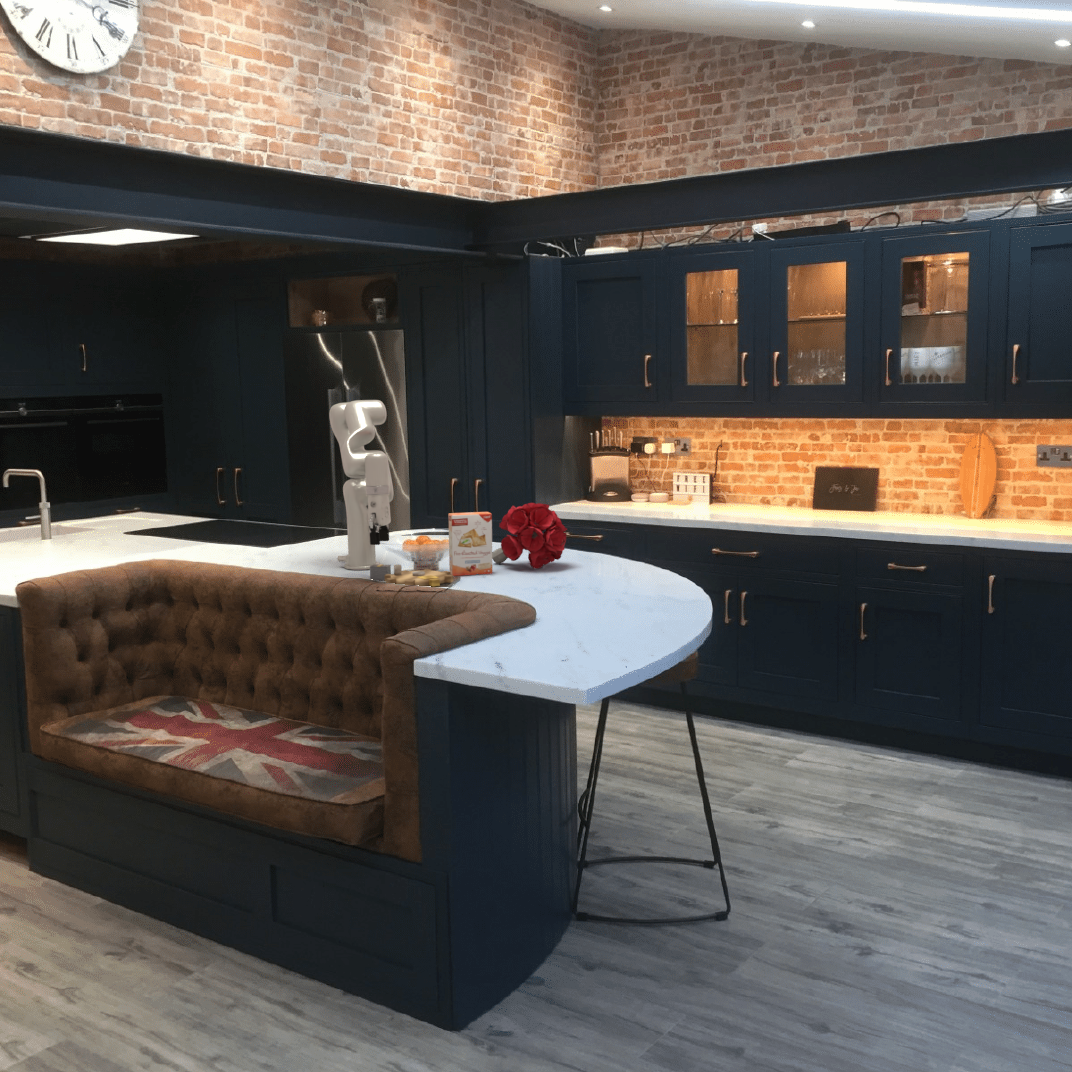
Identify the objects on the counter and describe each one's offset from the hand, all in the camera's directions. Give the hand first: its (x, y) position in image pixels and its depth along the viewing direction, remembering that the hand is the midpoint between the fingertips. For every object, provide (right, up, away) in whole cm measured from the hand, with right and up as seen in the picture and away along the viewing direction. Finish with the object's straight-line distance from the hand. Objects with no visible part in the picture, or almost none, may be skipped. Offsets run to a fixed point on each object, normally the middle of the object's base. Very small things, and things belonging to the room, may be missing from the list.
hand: (379, 542), depth 387 cm
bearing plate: (+14, -14, -8) cm, 21 cm away
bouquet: (+49, -9, +24) cm, 55 cm away
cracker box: (+30, -11, +11) cm, 33 cm away
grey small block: (0, -13, +2) cm, 13 cm away
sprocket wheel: (+14, -12, -8) cm, 20 cm away
